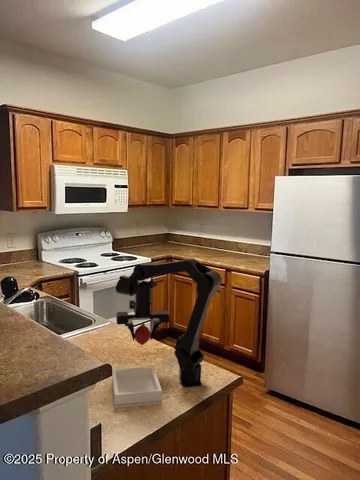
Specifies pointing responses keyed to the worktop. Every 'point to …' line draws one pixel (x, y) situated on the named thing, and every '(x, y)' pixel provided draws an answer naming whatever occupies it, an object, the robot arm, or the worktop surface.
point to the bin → (136, 387)
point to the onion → (142, 334)
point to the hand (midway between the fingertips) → (142, 339)
